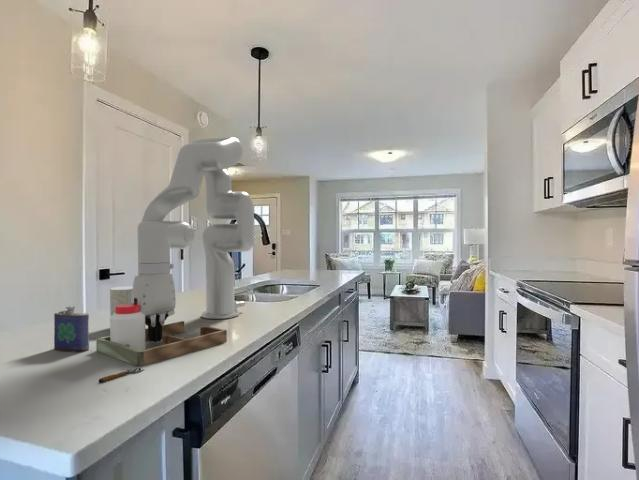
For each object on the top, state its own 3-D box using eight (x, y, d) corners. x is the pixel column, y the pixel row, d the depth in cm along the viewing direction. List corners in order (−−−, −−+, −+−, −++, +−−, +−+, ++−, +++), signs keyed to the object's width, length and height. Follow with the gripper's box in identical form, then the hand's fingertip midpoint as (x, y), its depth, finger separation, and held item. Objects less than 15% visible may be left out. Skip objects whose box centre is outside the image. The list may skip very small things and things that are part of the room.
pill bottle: (112, 347, 99) (112, 303, 99) (146, 344, 101) (146, 301, 101) (107, 356, 92) (107, 309, 91) (144, 353, 94) (144, 306, 94)
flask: (91, 349, 98) (90, 305, 97) (82, 352, 95) (81, 308, 95) (60, 347, 100) (59, 304, 99) (49, 350, 97) (48, 306, 97)
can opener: (100, 385, 75) (100, 379, 75) (95, 382, 77) (95, 376, 77) (146, 372, 82) (146, 366, 82) (140, 369, 84) (140, 364, 84)
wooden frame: (182, 331, 115) (182, 320, 115) (226, 341, 104) (226, 330, 104) (96, 351, 96) (96, 338, 96) (139, 366, 85) (138, 352, 85)
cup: (104, 328, 119) (104, 288, 119) (128, 323, 126) (128, 285, 126) (122, 331, 115) (121, 290, 115) (146, 326, 122) (145, 287, 122)
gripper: (171, 266, 110) (172, 332, 110) (117, 271, 98) (118, 345, 98) (188, 268, 106) (189, 336, 106) (134, 273, 93) (135, 350, 94)
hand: (155, 340), depth 102 cm, fingers closed
